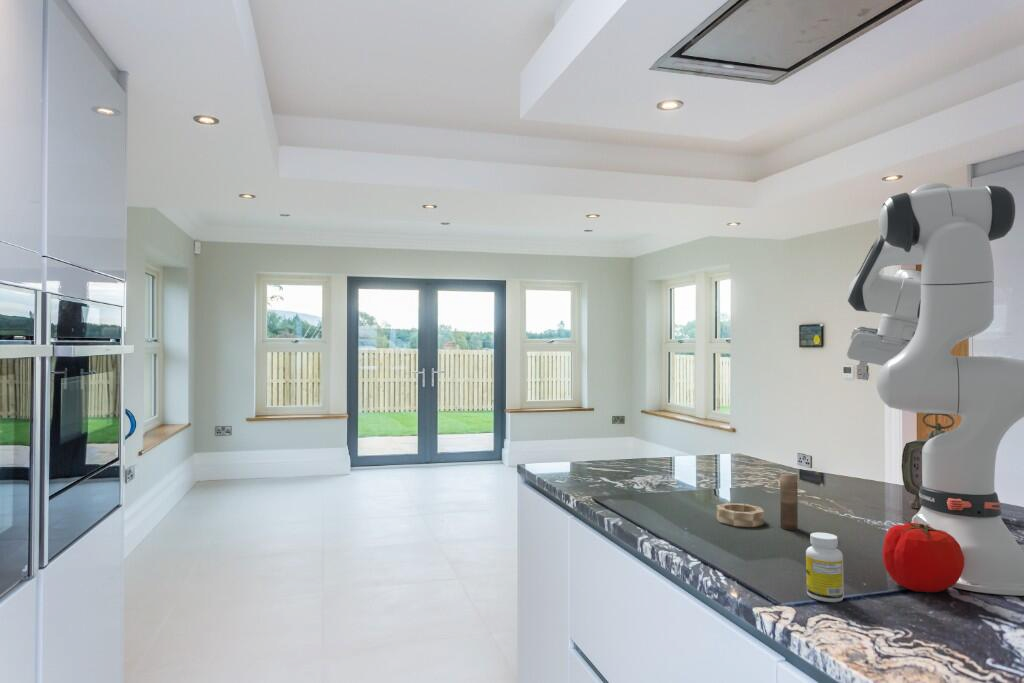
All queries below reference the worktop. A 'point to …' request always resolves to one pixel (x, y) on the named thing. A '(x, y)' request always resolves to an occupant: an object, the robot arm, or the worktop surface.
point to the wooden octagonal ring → (740, 514)
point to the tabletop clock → (917, 459)
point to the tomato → (922, 557)
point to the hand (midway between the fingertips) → (883, 383)
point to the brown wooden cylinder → (788, 501)
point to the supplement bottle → (824, 568)
